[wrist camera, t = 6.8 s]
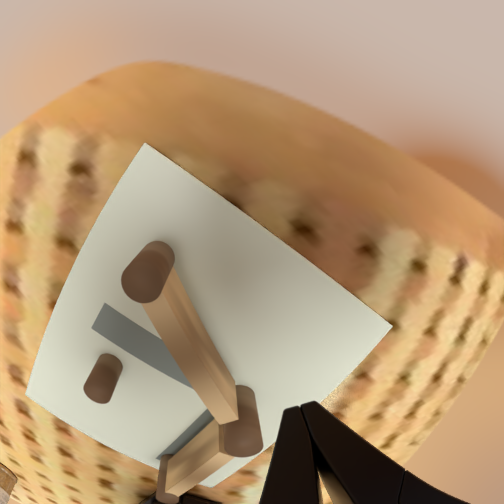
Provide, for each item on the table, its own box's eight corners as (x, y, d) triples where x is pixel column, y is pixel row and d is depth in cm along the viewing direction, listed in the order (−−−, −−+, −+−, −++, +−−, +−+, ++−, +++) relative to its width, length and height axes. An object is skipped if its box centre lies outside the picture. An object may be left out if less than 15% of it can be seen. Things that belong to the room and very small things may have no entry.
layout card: (211, 485, 20) (211, 488, 20) (26, 392, 16) (24, 394, 16) (390, 324, 17) (393, 326, 17) (146, 143, 13) (144, 142, 13)
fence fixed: (177, 464, 19) (174, 508, 15) (70, 411, 17) (50, 452, 13) (260, 390, 17) (271, 442, 13) (124, 312, 15) (98, 358, 11)
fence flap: (240, 380, 16) (244, 420, 13) (213, 388, 16) (214, 429, 13) (165, 235, 13) (150, 255, 10) (135, 248, 13) (113, 271, 10)
